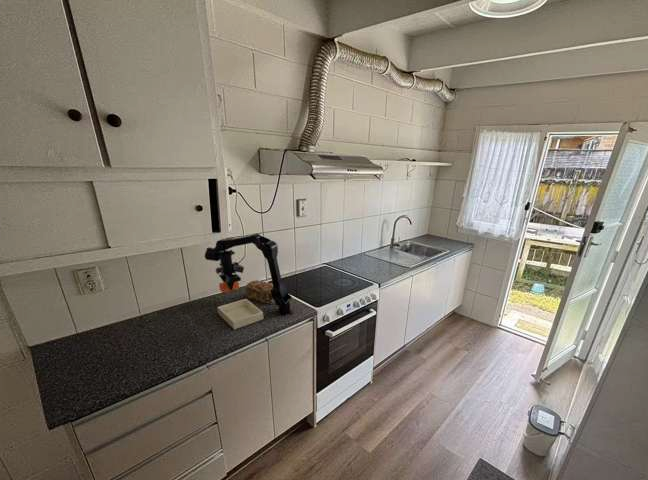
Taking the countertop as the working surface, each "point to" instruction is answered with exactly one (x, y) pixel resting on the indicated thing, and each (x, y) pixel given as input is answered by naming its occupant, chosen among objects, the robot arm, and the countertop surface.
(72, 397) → the countertop surface
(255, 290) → the bread
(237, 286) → the snack bar
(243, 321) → the cream rectangular tray
